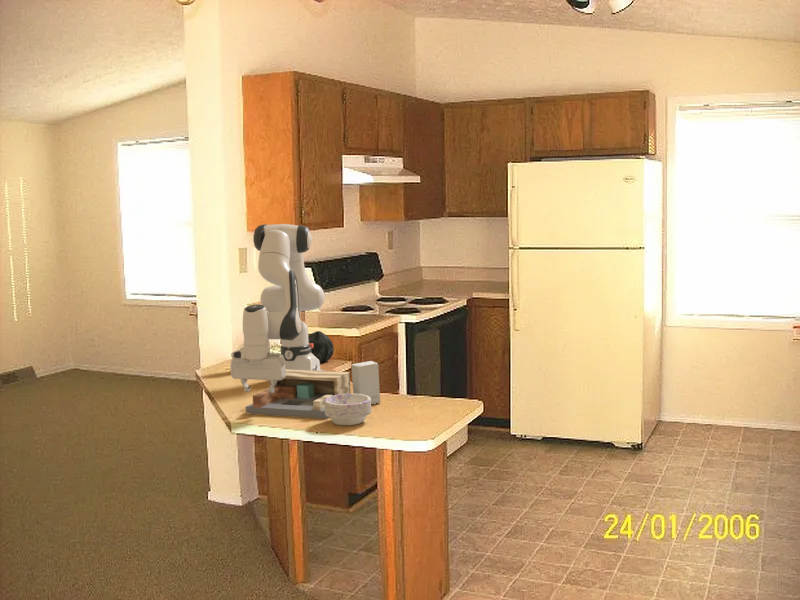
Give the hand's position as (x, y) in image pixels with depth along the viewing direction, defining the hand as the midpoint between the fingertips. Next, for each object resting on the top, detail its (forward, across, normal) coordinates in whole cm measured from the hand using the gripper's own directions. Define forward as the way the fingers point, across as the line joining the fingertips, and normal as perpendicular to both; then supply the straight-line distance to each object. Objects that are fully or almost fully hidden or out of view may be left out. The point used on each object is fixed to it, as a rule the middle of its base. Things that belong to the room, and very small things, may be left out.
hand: (259, 392), depth 297 cm
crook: (+5, -2, -6) cm, 8 cm away
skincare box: (+8, -31, -20) cm, 38 cm away
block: (+5, -9, -16) cm, 19 cm away
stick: (+5, -22, -4) cm, 23 cm away
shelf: (+5, -10, -19) cm, 22 cm away
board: (+7, -11, -11) cm, 17 cm away
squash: (+6, +24, -92) cm, 95 cm away
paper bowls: (+8, -35, +4) cm, 36 cm away
